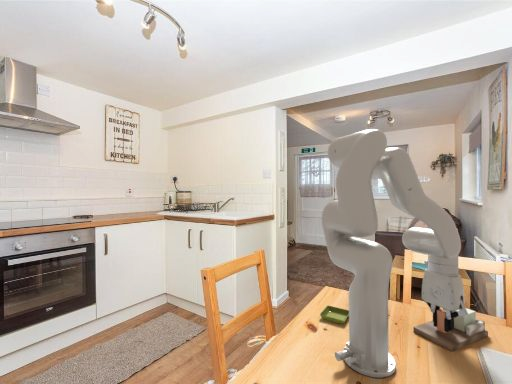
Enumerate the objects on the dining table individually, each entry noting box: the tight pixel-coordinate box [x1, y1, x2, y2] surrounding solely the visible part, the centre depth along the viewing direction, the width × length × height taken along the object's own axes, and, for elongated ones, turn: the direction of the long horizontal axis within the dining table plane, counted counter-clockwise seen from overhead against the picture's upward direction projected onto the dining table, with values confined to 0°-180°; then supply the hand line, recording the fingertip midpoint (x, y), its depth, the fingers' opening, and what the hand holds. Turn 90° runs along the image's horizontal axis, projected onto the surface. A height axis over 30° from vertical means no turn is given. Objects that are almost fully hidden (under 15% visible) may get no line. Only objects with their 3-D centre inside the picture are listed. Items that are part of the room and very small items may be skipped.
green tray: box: [319, 305, 349, 325], centre depth 91 cm, size 9×9×2 cm
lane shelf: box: [413, 318, 489, 352], centre depth 80 cm, size 18×11×4 cm, turn 113°
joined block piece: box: [437, 307, 477, 334], centre depth 80 cm, size 12×6×6 cm, turn 113°
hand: (443, 327), depth 78 cm, fingers closed on joined block piece, 2 cm apart
